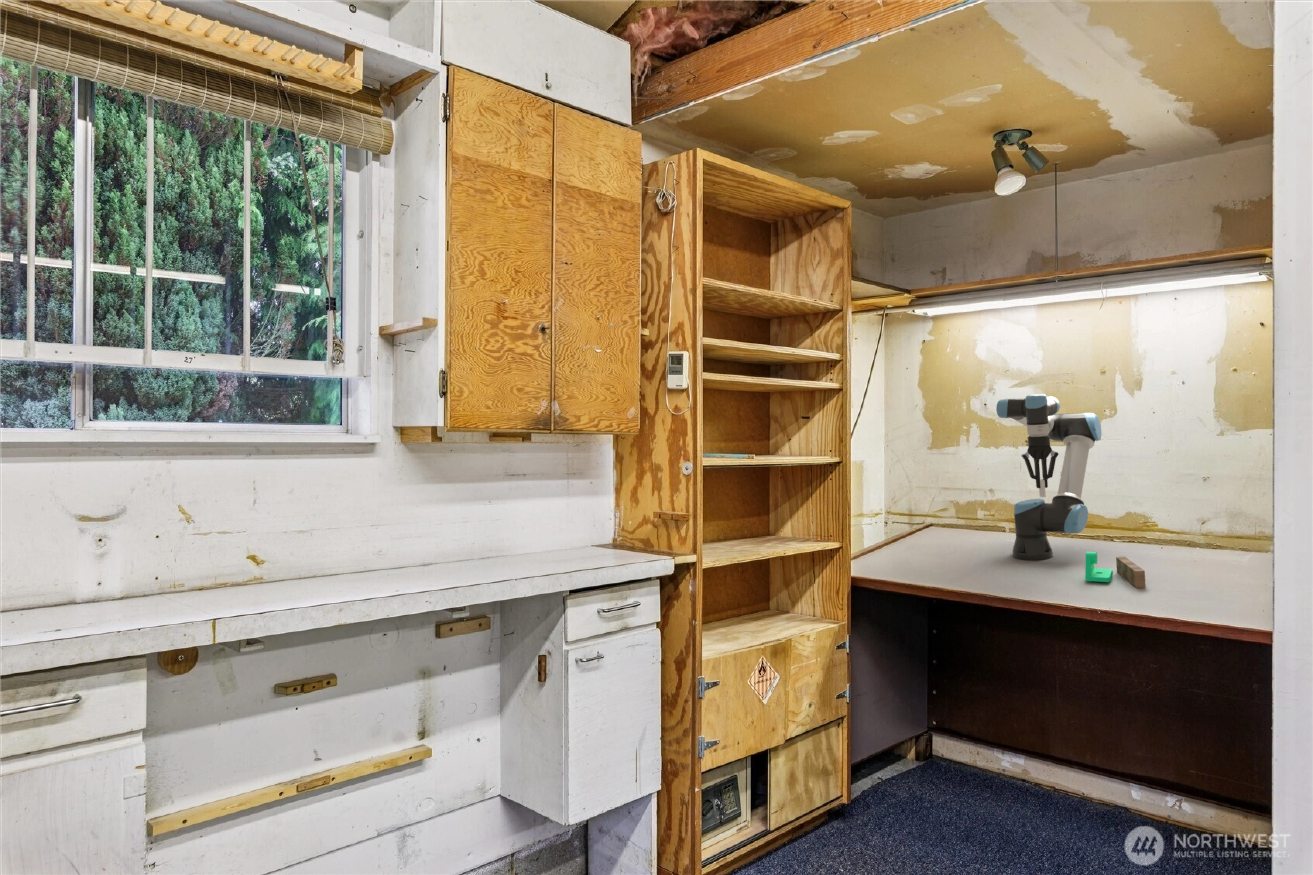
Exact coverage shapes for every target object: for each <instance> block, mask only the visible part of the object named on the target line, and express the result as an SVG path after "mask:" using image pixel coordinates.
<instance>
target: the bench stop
mask: <svg viewBox="0 0 1313 875" xmlns="http://www.w3.org/2000/svg"><path fill="white" fill-rule="evenodd" d="M1115 561H1116V562H1115V563H1116V574H1118V575H1120V577H1122V579H1124V580H1126V581H1127V582H1128V583H1129V584H1130V585H1132V586H1133V587H1134V588H1136V589H1142V588H1143V589H1144V588H1146V573H1145V572H1146V571H1145V570H1144V569H1143V568H1142V567H1140V566H1139V565H1137V564H1136V563H1134V561H1132V560H1130V559H1129V558H1127V557H1126V556H1116V557H1115Z"/></svg>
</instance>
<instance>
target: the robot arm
mask: <svg viewBox="0 0 1313 875" xmlns="http://www.w3.org/2000/svg"><path fill="white" fill-rule="evenodd" d="M995 407H996V414H997V417H999V418H1001V419H1012V420H1014V421H1016V422H1018V423H1020V424H1022V425H1023V426H1026V428H1027V432H1026V433H1027V435H1028V436H1027V444H1028V445H1027V446H1028V448H1027V449H1026V450H1027V451H1026V452H1025V453H1022V454H1021V458H1022V459H1023V460H1024V462H1025V465H1026V468H1027V470H1028V471H1027V472H1028V474H1029V477H1030V478H1031V479H1033V480H1035V486H1036V489H1039V490H1038V491H1039V492H1038V493H1039V497H1041V498H1032V499H1031V498H1030V499H1024V500H1020V501H1018V502H1016V503H1015V504H1014V506H1013V516H1014V528H1015V540H1014V543H1013V548H1012V557H1013V558H1015V559H1018V560H1025V561H1026V560H1027V561H1039V560H1040V561H1041V560H1047V559H1050V558H1052V557H1053V556H1054V555H1053V554H1054V553H1053V548H1052V546H1051V544H1050V541H1049V539H1048V537H1047V533H1056V534H1057V533H1058V534H1068V535H1070V534H1080V533H1082V532H1083V531H1084V530H1085V528H1086V527H1087V523H1088V519H1089V517H1088V515H1089V511H1088V510H1089V509H1088V507H1087V505H1085V501H1084V500H1082V494H1083V488H1084V481H1085V477H1086V470H1087V464H1088V458H1089V452H1090V449H1093V447H1094V446H1095V442H1099V441H1101V439H1102V426H1101V422H1100V418H1099V416H1098V414H1096V413H1095V412H1080V413H1073V412H1072V413H1058V412H1059V410H1060V408H1061V403H1060V401H1059V400H1058V398H1056V397H1055V396H1052V395H1048V396H1047V395H1046V394H1045V393H1037V394H1036V393H1034V394H1028V395H1026V396H1025V398H1024V397H1023V398H1004V399H999V400H998V401H997V404H996V406H995ZM1051 440H1052V441H1056V442H1063V444H1064V445H1065V446H1066V447H1065V451H1064V457H1063V464H1062V467H1061V468H1062V469H1061V474H1060V479H1059V484H1058V491H1057V495H1054V496H1053V497H1052V498H1051V503H1049V502H1048V503H1047V502H1046V501H1045V500H1044V498H1046V496H1047V495H1046V489H1047V488H1048V487H1049V485H1048V483H1049V482H1048V479H1050V478H1051V479H1052V478H1053V476H1054V470H1055V466H1056V460H1057V458H1058V456H1059V452H1057V451H1055V450H1053V449H1052V446H1051ZM1030 456H1031V458H1032V459H1033V463H1034V465H1033V466H1034V469H1033V468H1032V467H1033V466H1032V464H1031V461H1030ZM1049 456H1050V459H1049V460H1050V461H1049V466H1048V467H1047V460H1048V459H1047V458H1048V457H1049ZM1040 461H1041V466H1040ZM1040 467H1041V470H1040ZM1041 474H1042V478H1041Z"/></svg>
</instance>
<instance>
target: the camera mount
mask: <svg viewBox="0 0 1313 875" xmlns="http://www.w3.org/2000/svg"><path fill="white" fill-rule="evenodd" d="M1097 552H1098V551H1085V575H1084V577H1085V581H1086V582H1098V583H1099V582H1101V583H1109V582H1112V580H1113V574H1114V572H1113V569H1112V568H1098V567H1097V568H1095V566H1094V565H1097V564H1098V553H1097Z"/></svg>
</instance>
